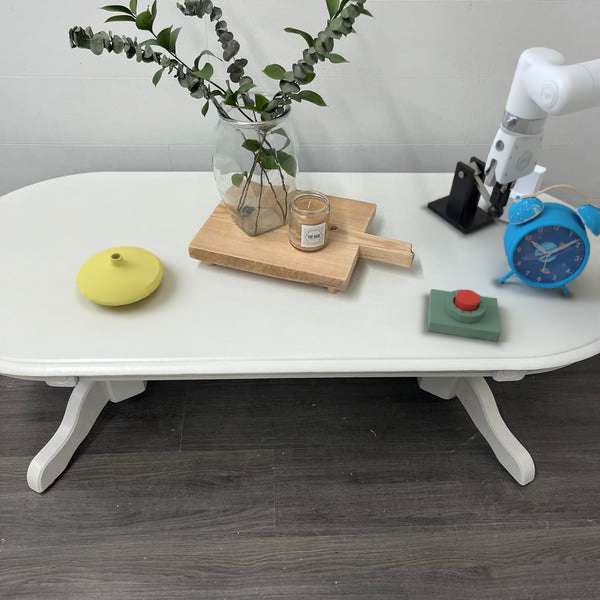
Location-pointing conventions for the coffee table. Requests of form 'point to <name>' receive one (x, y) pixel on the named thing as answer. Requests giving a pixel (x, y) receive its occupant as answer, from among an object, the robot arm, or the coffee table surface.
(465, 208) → the bracket
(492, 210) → the lever
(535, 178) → the base with upright slab
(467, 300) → the button
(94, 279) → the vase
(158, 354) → the coffee table surface
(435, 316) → the button box
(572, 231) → the alarm clock
